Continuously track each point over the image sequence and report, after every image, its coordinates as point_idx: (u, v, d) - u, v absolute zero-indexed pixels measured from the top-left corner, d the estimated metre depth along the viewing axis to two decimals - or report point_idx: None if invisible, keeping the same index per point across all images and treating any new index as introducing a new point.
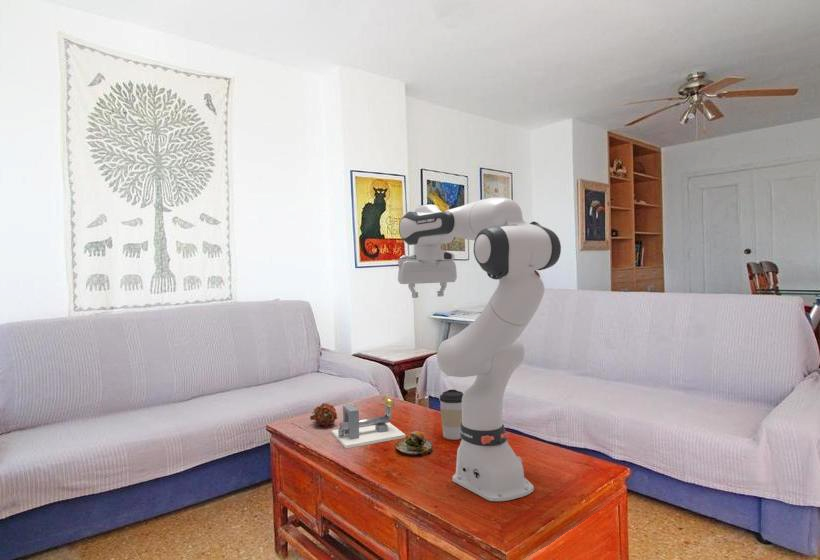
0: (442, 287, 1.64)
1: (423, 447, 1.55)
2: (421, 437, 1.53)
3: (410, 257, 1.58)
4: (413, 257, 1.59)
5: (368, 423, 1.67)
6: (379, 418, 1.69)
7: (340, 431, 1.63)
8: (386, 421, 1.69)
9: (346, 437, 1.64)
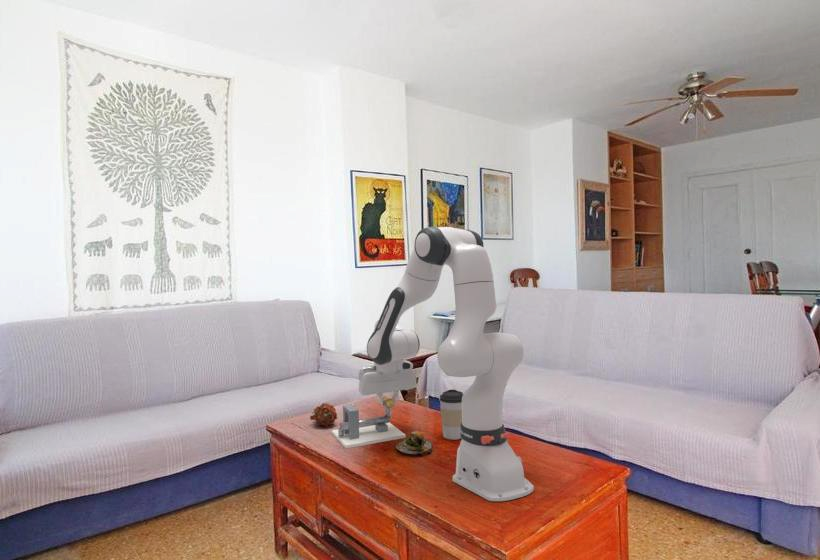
0: (394, 394, 1.72)
1: (423, 447, 1.55)
2: (421, 437, 1.53)
3: (370, 369, 1.67)
4: (373, 368, 1.68)
5: (368, 423, 1.67)
6: (379, 418, 1.69)
7: (340, 431, 1.63)
8: (386, 421, 1.69)
9: (346, 437, 1.64)
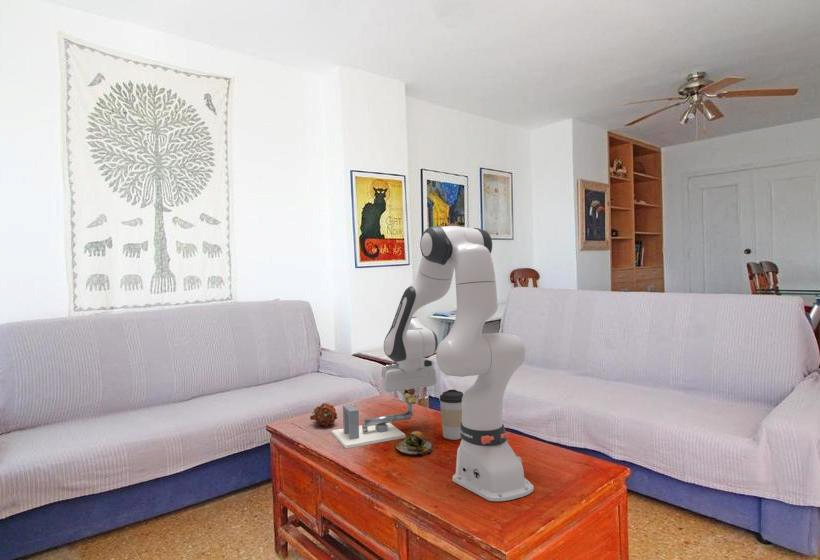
0: (416, 391, 1.75)
1: (423, 447, 1.55)
2: (421, 437, 1.53)
3: (393, 366, 1.71)
4: (396, 366, 1.71)
5: (391, 419, 1.70)
6: (401, 414, 1.72)
7: (364, 427, 1.67)
8: (408, 417, 1.73)
9: (346, 437, 1.64)
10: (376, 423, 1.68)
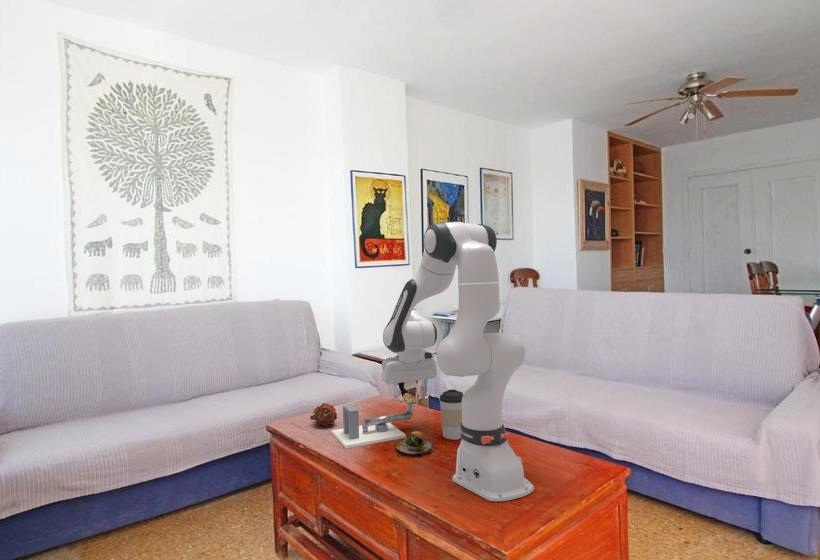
0: (423, 383, 1.76)
1: (423, 447, 1.55)
2: (421, 437, 1.53)
3: (393, 358, 1.71)
4: (396, 358, 1.71)
5: (391, 419, 1.70)
6: (401, 414, 1.72)
7: (364, 427, 1.67)
8: (408, 417, 1.73)
9: (346, 437, 1.64)
10: (376, 423, 1.68)
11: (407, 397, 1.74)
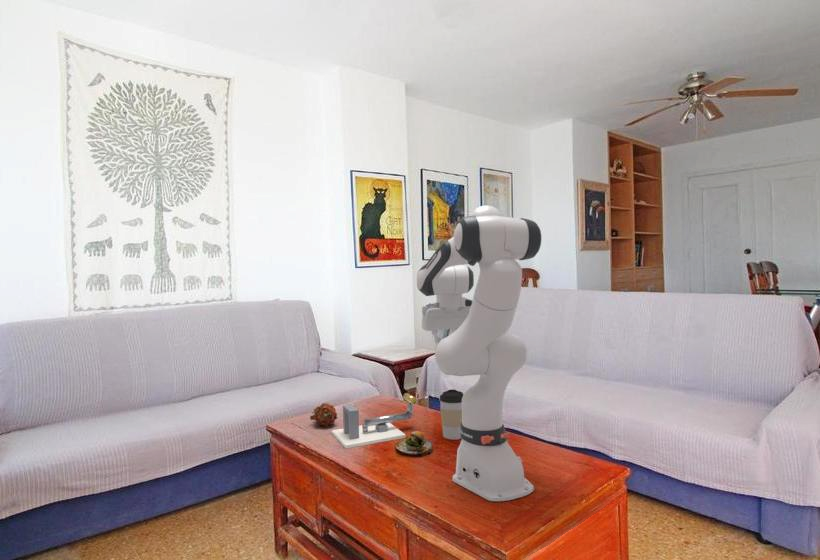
0: None
1: (423, 447, 1.55)
2: (421, 437, 1.53)
3: (433, 305, 1.67)
4: (436, 305, 1.67)
5: (391, 419, 1.70)
6: (401, 414, 1.72)
7: (364, 427, 1.67)
8: (408, 417, 1.73)
9: (346, 437, 1.64)
10: (376, 423, 1.68)
11: (407, 397, 1.74)
